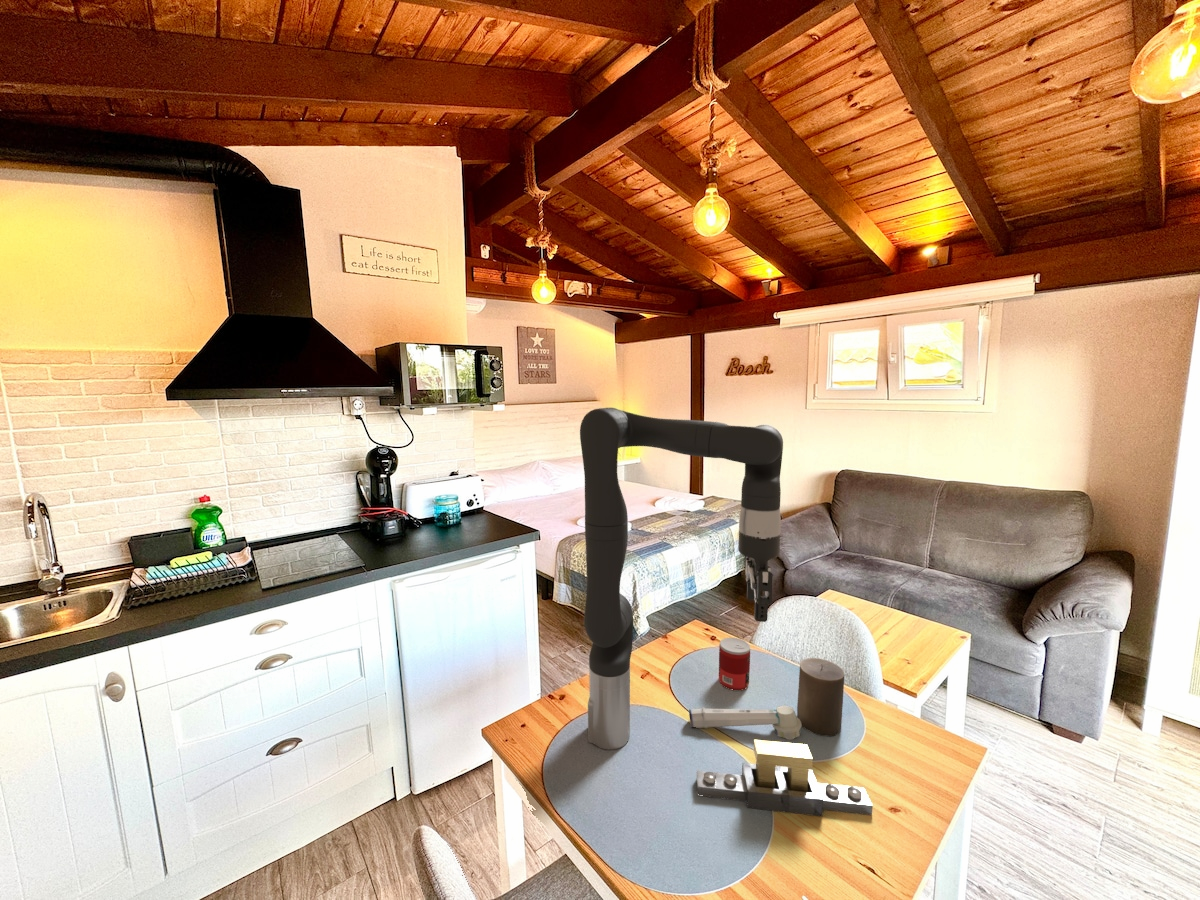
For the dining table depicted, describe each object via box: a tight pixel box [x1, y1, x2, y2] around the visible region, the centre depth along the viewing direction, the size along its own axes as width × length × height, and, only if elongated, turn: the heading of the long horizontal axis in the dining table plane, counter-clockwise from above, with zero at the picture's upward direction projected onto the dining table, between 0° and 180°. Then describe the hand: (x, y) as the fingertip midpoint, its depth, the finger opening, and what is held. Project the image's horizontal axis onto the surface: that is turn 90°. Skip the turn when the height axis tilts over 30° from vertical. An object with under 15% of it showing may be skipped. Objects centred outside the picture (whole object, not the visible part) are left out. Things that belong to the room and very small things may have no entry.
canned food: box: [718, 637, 751, 691], centre depth 128 cm, size 8×8×11 cm
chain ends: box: [696, 762, 874, 817], centre depth 92 cm, size 32×7×4 cm, turn 82°
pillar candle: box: [796, 657, 845, 737], centre depth 112 cm, size 10×10×15 cm
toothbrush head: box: [688, 705, 803, 741], centre depth 110 cm, size 5×7×25 cm
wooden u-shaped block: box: [753, 739, 813, 792], centre depth 92 cm, size 10×4×10 cm, turn 82°
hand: (756, 610), depth 92 cm, fingers open, 8 cm apart
